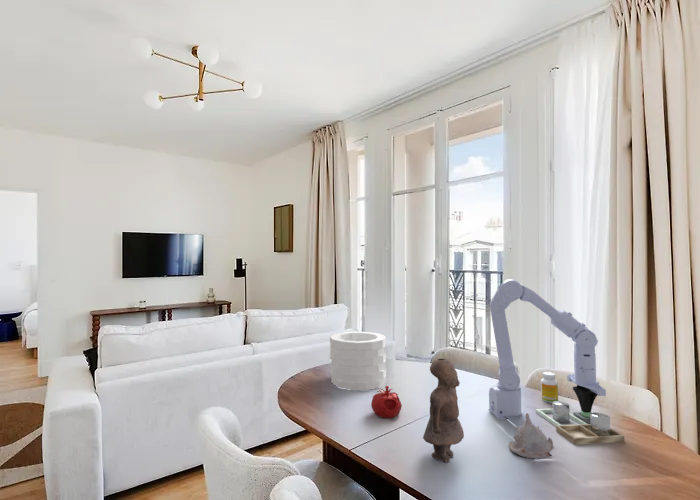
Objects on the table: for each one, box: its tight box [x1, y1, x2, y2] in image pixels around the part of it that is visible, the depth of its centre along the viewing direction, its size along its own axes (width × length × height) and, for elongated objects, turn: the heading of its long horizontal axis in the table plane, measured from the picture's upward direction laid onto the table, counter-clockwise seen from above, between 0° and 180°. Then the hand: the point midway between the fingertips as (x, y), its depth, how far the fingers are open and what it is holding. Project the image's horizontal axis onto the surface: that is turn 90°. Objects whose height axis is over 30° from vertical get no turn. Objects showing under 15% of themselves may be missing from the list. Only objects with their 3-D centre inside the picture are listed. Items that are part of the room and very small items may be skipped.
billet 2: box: [590, 412, 611, 436], centre depth 107 cm, size 5×5×6 cm
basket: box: [329, 331, 387, 391], centre depth 161 cm, size 25×24×19 cm
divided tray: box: [555, 424, 625, 445], centre depth 106 cm, size 14×8×2 cm, turn 94°
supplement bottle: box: [540, 371, 559, 404], centre depth 136 cm, size 5×5×10 cm
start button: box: [580, 409, 593, 418], centre depth 117 cm, size 3×3×2 cm
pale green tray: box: [535, 408, 587, 427], centre depth 117 cm, size 9×13×2 cm
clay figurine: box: [422, 358, 465, 464], centre depth 98 cm, size 13×10×25 cm
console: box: [572, 411, 591, 424], centre depth 117 cm, size 5×5×2 cm
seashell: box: [508, 413, 554, 460], centre depth 101 cm, size 10×12×9 cm
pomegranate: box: [370, 385, 403, 419], centre depth 125 cm, size 10×10×9 cm
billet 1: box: [551, 400, 571, 424], centre depth 117 cm, size 5×5×6 cm
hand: (586, 411), depth 117 cm, fingers closed, pressing on start button
